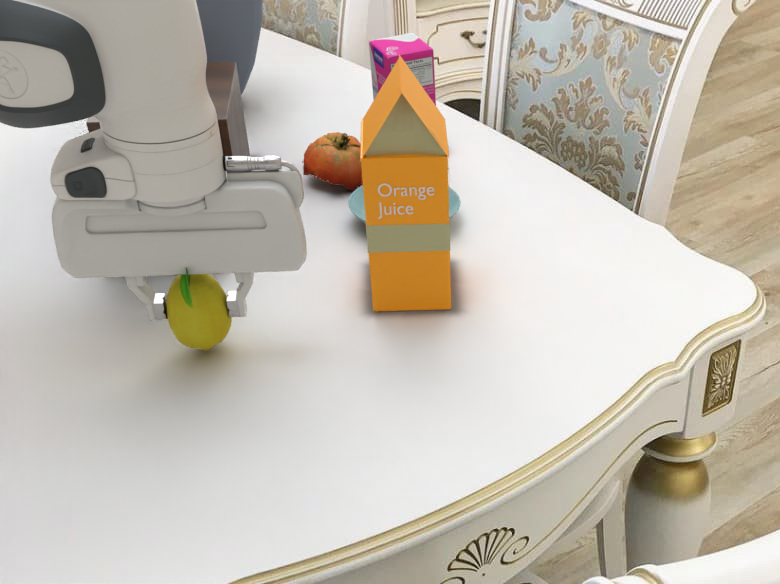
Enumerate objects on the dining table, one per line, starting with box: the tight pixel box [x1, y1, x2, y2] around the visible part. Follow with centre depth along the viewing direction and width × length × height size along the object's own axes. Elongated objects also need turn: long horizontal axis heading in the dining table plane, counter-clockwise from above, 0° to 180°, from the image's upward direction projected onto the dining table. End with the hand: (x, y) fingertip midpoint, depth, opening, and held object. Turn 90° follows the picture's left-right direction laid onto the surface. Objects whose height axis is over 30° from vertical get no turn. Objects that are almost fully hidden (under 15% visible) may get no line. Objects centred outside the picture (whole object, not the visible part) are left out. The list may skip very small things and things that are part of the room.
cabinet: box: [85, 62, 251, 157], centre depth 119 cm, size 16×14×11 cm
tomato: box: [301, 131, 363, 191], centre depth 124 cm, size 8×7×7 cm
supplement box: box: [368, 32, 437, 106], centre depth 127 cm, size 6×6×12 cm
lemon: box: [166, 268, 233, 351], centre depth 97 cm, size 7×6×10 cm
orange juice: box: [360, 55, 452, 312], centre depth 102 cm, size 8×9×20 cm
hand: (198, 315), depth 98 cm, fingers closed on lemon, 5 cm apart
